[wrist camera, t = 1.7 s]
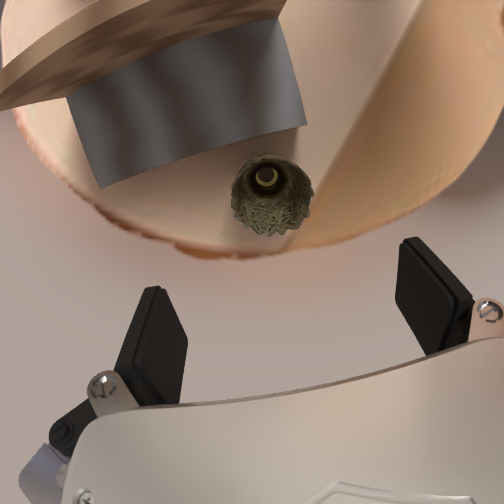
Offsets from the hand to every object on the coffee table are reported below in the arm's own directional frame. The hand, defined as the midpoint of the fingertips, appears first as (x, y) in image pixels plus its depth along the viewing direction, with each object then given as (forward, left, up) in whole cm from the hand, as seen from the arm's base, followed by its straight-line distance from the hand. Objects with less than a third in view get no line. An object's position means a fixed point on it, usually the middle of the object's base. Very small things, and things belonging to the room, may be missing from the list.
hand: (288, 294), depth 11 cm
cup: (0, +2, -24) cm, 24 cm away
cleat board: (+6, -9, -24) cm, 26 cm away
